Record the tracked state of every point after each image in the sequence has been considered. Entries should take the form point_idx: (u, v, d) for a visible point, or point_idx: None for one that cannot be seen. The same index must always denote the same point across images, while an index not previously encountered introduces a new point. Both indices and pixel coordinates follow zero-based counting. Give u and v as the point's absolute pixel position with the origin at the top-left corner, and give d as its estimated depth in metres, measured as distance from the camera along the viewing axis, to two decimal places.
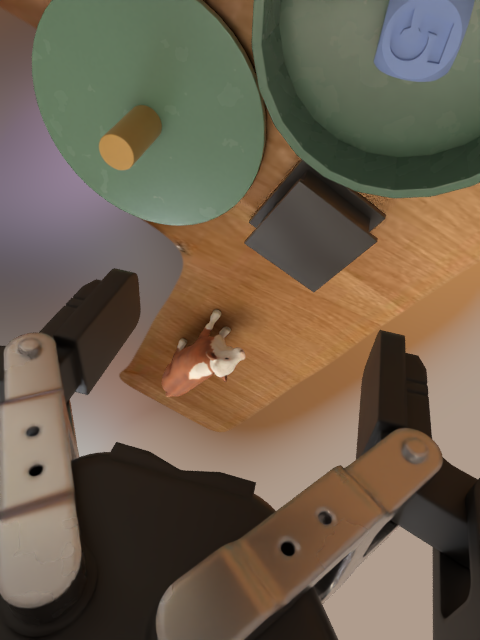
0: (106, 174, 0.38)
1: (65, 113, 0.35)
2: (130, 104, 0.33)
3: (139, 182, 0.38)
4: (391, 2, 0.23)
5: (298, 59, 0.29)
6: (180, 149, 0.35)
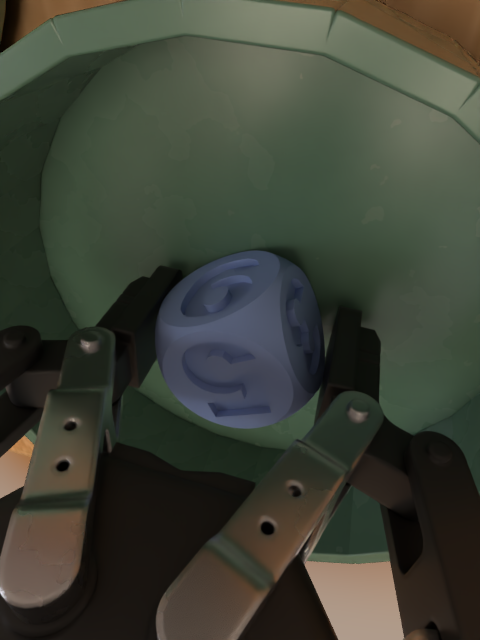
0: None
1: None
2: None
3: None
4: (244, 311, 0.11)
5: (85, 144, 0.14)
6: None
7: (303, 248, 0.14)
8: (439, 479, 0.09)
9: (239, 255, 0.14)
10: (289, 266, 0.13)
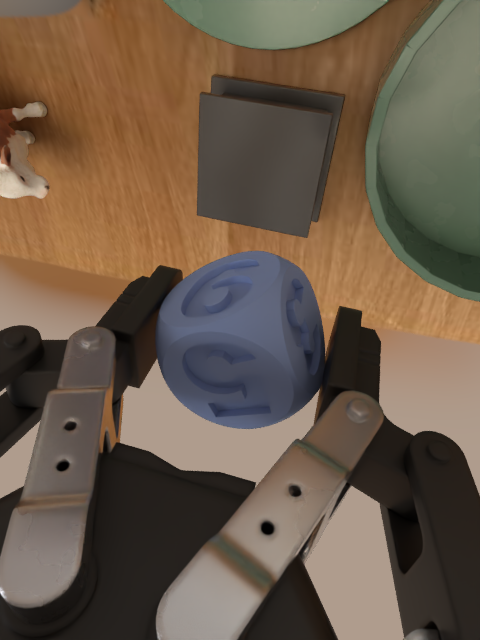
0: None
1: None
2: None
3: None
4: (245, 311, 0.11)
5: (457, 15, 0.22)
6: None
7: None
8: (439, 479, 0.09)
9: (239, 255, 0.14)
10: (289, 266, 0.13)
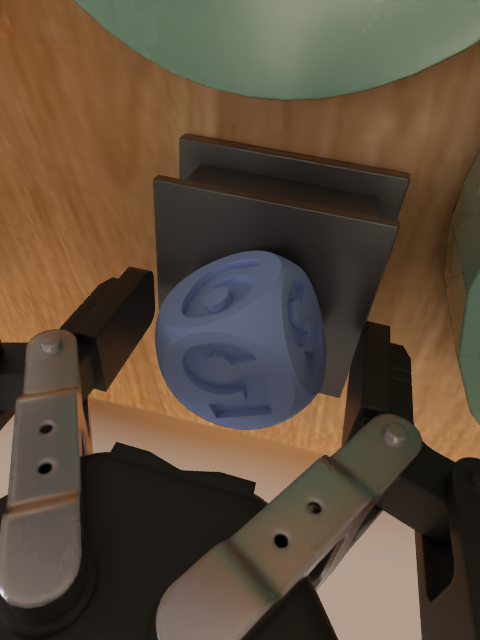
0: None
1: None
2: None
3: None
4: (245, 311, 0.11)
5: None
6: None
7: None
8: None
9: (240, 255, 0.14)
10: (290, 266, 0.13)
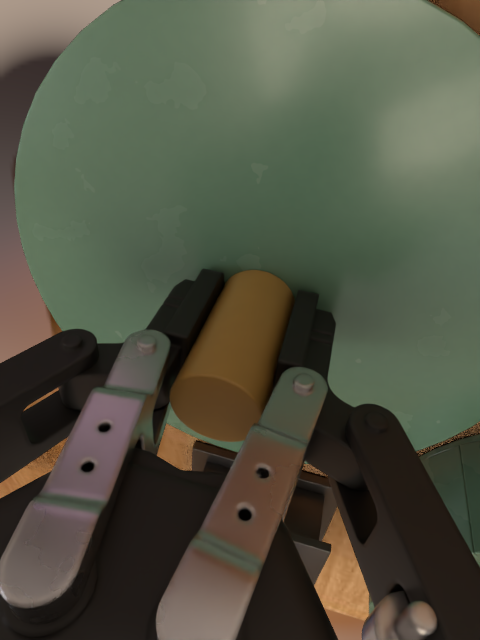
0: (80, 234, 0.16)
1: (147, 105, 0.12)
2: (277, 267, 0.14)
3: (123, 303, 0.17)
4: None
5: None
6: None
7: None
8: (373, 446, 0.10)
9: None
10: None
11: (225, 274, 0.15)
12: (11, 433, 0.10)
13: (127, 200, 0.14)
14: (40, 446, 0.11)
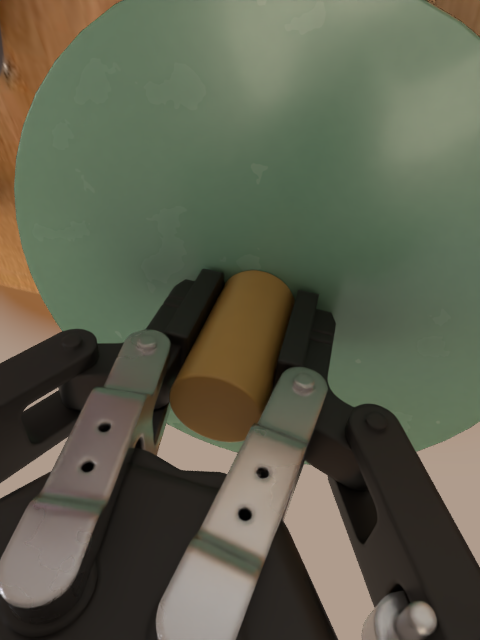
0: (80, 234, 0.16)
1: (147, 106, 0.12)
2: (277, 267, 0.14)
3: (122, 303, 0.17)
4: None
5: None
6: None
7: None
8: (373, 446, 0.10)
9: None
10: None
11: (225, 274, 0.15)
12: (11, 433, 0.10)
13: (127, 201, 0.14)
14: (40, 446, 0.11)
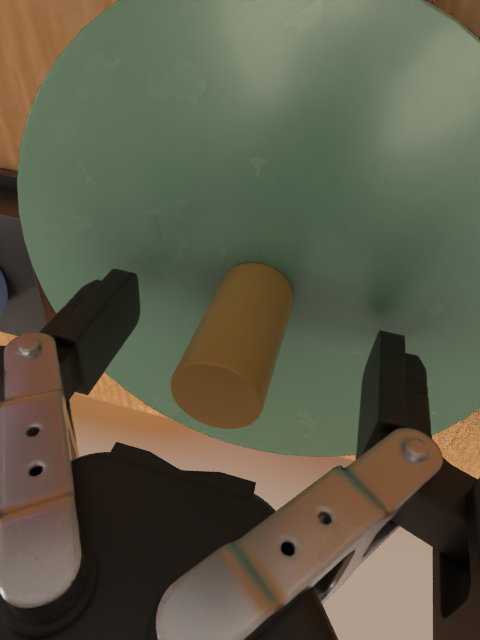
0: (81, 228, 0.16)
1: (148, 100, 0.13)
2: (276, 260, 0.15)
3: None
4: None
5: None
6: None
7: None
8: None
9: None
10: None
11: (224, 267, 0.15)
12: None
13: (128, 194, 0.15)
14: None
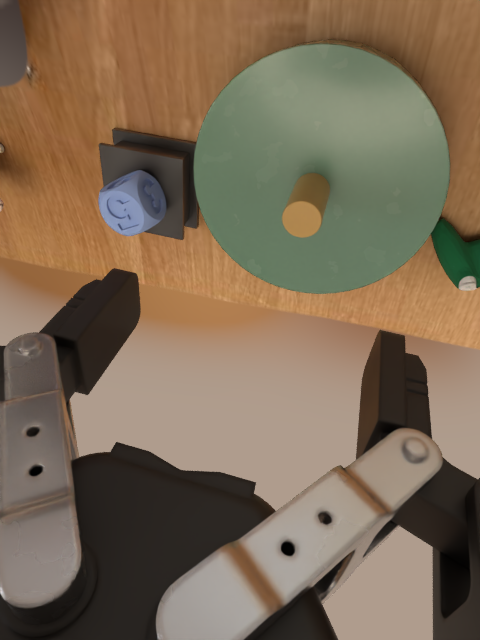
0: (227, 158, 0.33)
1: (272, 96, 0.30)
2: (322, 171, 0.32)
3: (241, 196, 0.34)
4: (124, 184, 0.35)
5: None
6: None
7: None
8: None
9: None
10: (145, 173, 0.36)
11: (297, 176, 0.32)
12: None
13: (254, 140, 0.32)
14: None
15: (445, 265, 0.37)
